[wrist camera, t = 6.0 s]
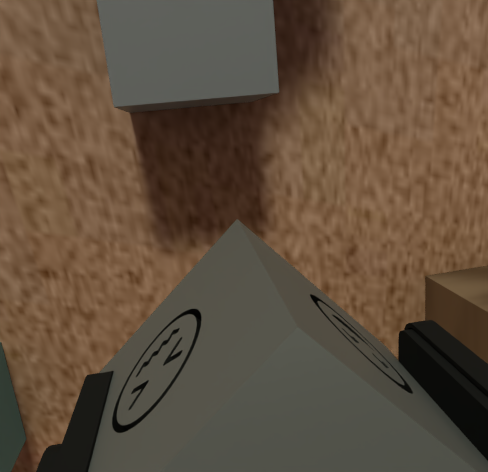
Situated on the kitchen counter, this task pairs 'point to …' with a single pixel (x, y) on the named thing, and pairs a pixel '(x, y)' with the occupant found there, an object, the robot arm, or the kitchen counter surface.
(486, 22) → the kitchen counter surface
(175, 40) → the light gray cube
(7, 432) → the teal block
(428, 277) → the walnut block
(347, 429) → the dice cube
